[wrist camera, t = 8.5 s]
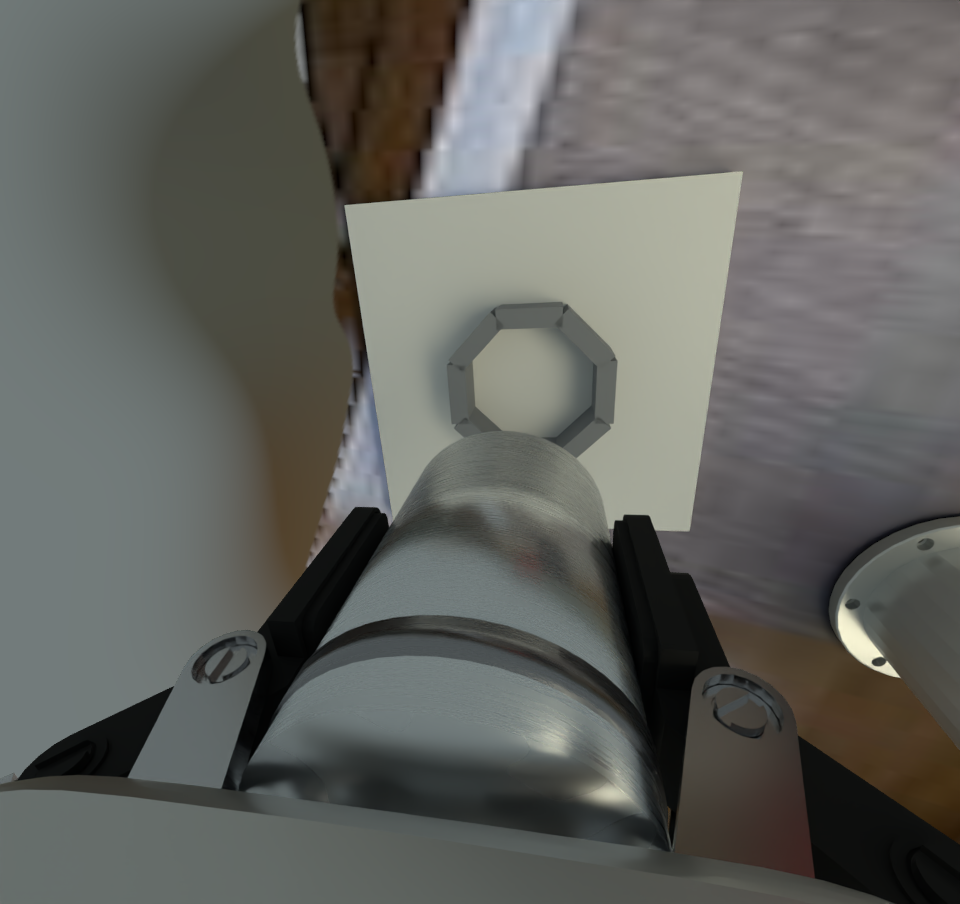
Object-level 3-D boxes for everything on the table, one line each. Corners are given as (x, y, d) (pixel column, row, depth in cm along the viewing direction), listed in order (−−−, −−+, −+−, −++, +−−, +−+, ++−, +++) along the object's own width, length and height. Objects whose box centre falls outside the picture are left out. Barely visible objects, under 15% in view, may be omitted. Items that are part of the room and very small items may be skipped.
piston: (612, 428, 11) (716, 738, 4) (602, 603, 14) (658, 1005, 6) (399, 429, 12) (175, 684, 5) (421, 593, 14) (288, 935, 7)
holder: (735, 174, 22) (765, 161, 19) (685, 522, 30) (700, 554, 27) (351, 207, 25) (322, 200, 22) (397, 514, 33) (381, 541, 30)
